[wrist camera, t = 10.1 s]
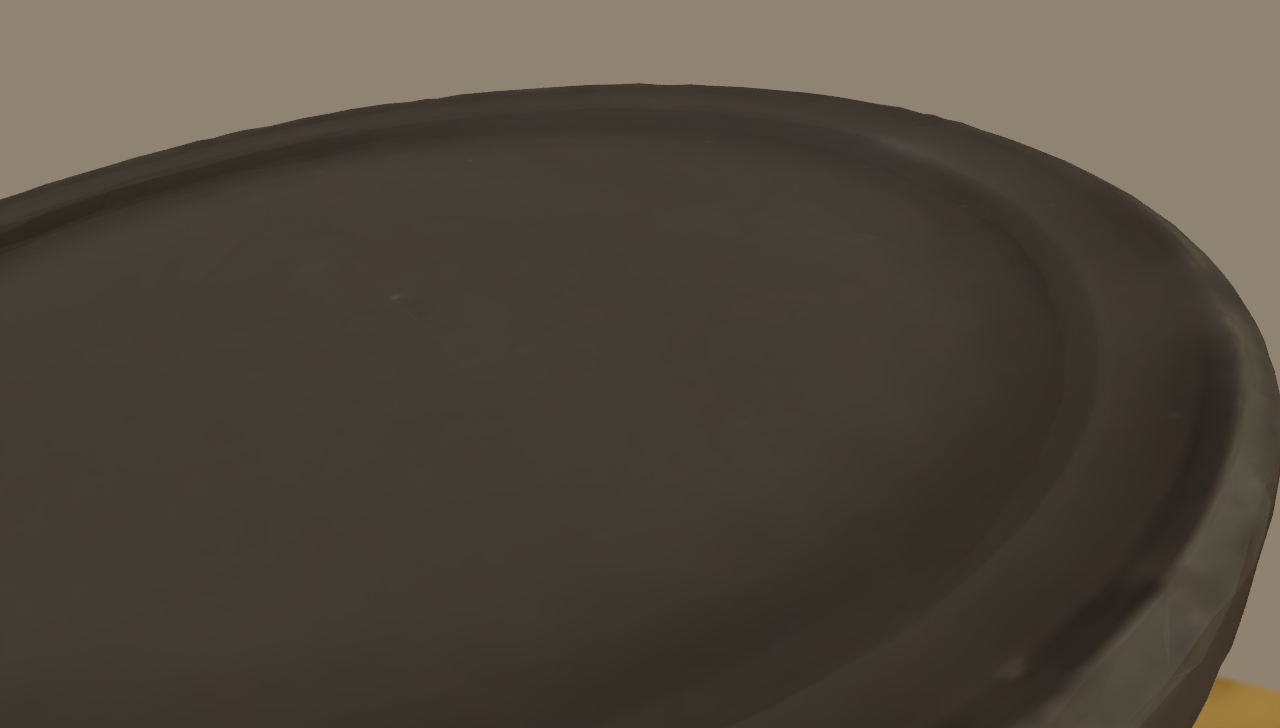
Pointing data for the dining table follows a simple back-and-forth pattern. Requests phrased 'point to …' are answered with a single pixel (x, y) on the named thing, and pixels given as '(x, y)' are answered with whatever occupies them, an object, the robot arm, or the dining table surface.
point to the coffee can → (619, 427)
